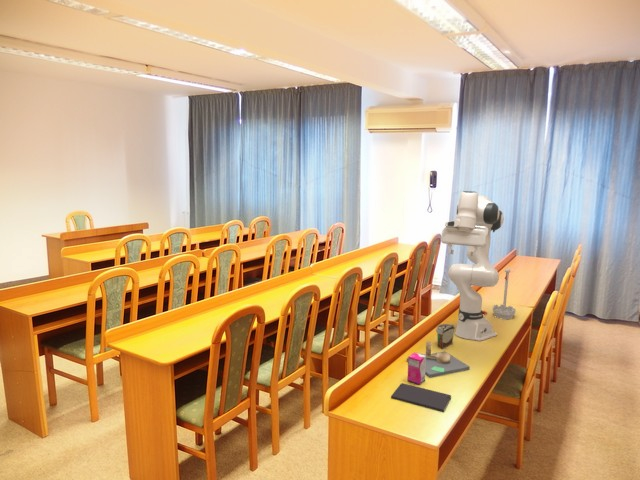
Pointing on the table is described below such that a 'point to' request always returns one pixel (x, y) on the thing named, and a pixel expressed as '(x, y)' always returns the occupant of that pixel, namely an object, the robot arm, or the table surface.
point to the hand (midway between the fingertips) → (461, 254)
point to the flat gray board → (443, 366)
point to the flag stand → (504, 303)
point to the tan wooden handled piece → (441, 358)
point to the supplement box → (416, 368)
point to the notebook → (421, 397)
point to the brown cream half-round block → (445, 335)
